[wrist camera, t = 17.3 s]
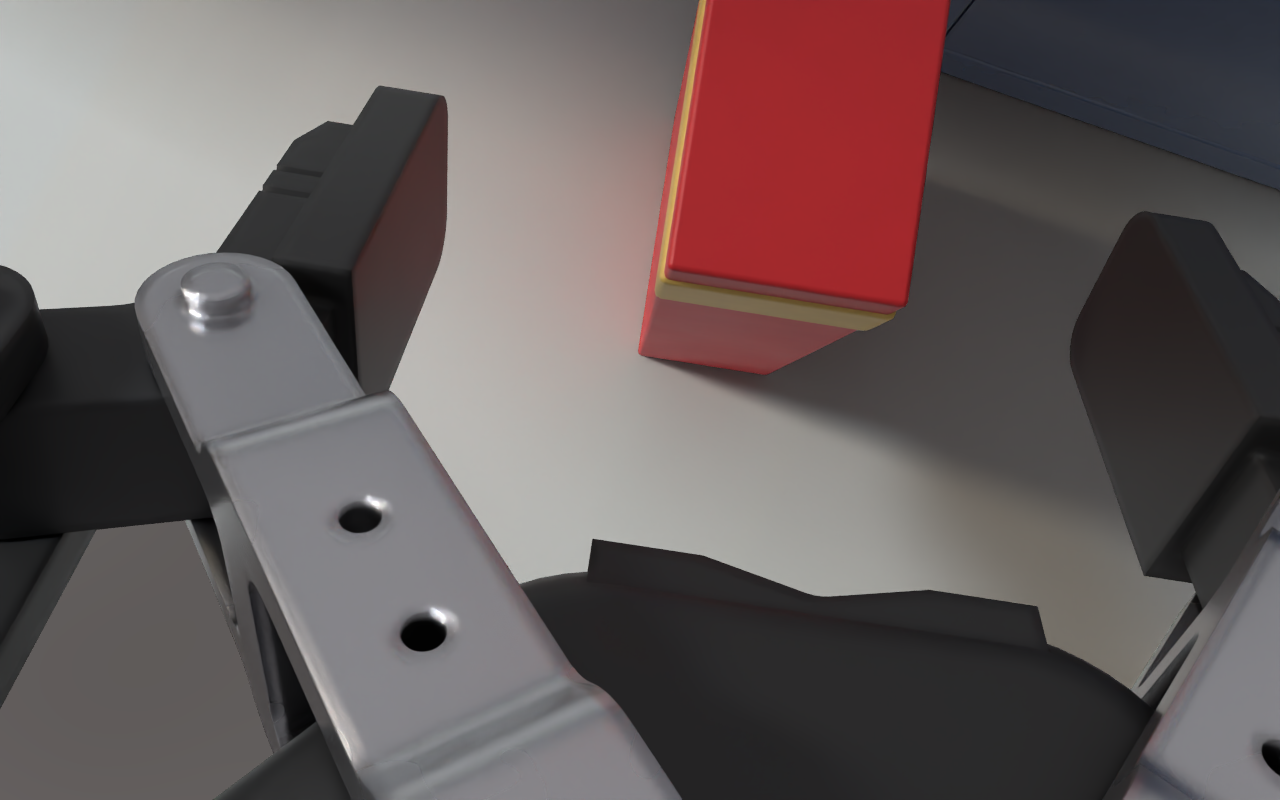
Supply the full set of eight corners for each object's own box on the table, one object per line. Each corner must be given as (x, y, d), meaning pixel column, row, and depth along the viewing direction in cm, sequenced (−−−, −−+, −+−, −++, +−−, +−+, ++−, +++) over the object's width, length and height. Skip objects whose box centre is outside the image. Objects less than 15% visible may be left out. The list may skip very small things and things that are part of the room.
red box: (634, 357, 20) (660, 273, 11) (672, 113, 21) (730, -173, 11) (770, 378, 21) (912, 313, 11) (806, 135, 21) (974, -131, 11)
